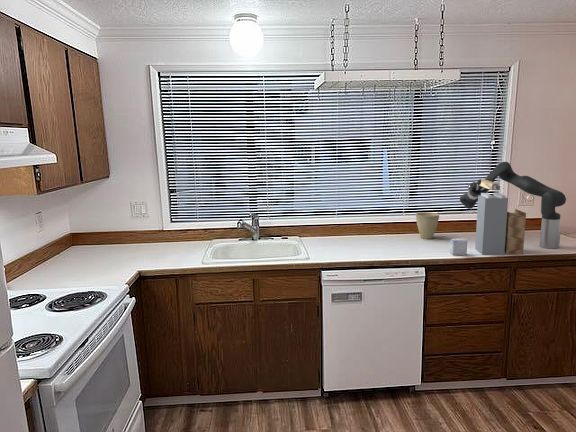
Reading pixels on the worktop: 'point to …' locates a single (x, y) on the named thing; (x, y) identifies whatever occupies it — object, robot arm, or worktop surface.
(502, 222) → the slot column
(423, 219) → the plant pot
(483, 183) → the bar
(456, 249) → the medicine box
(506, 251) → the block
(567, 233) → the worktop surface
